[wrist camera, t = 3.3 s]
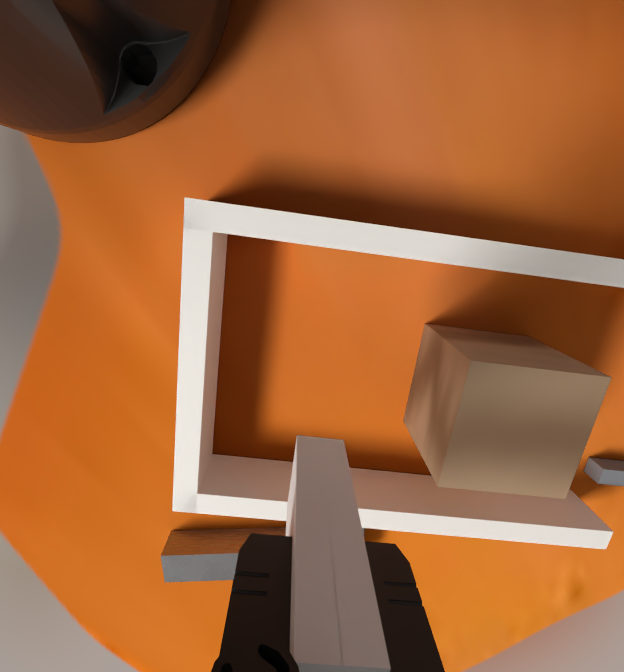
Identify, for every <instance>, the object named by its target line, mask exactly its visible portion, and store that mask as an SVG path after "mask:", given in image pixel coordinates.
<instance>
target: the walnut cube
mask: <svg viewBox="0 0 624 672" xmlns="http://www.w3.org/2000/svg"><path fill="white" fill-rule="evenodd" d="M611 378H612V377H610V376H608V375H606V374H604V373H602V372H600V371H598V370H596V369H594V368H592V367H590V366H588V365H586V364H584V363H582V362H580V361H578V360H576V359H574V358H572V357H570V356H568V355H566V354H564V353H562V352H560V351H558V350H556V349H554V348H552V347H550V346H548V345H546V344H543V343H541V342H539V341H537V340H535V339H533V338H531V337H529V336H522V335H514V334H506V333H498V332H490V331H482V330H474V329H466V328H458V327H450V326H442V325H434V324H426V323H425V326H424V330H423V335H422V339H421V344H420V348H419V352H418V357H417V361H416V366H415V370H414V375H413V379H412V384H411V388H410V393H409V397H408V402H407V406H406V411H405V415H404V420H403V421H404V423H405V425H406V427H407V429H408V431H409V433H410V435H411V437H412V439H413V440H414V442H415V444H416V446H417V448H418V450H419V452H420V454H421V456H422V458H423V460H424V462H425V464H426V466H427V467H428V469H429V471H430V473H431V475H432V477H433V479H434V481H435V483H436V485H437V487H445V488H455V489H466V490H476V491H487V492H497V493H507V494H518V495H528V496H538V497H549V498H559V499H566V497H567V494H568V491H569V489H570V486H571V483H572V481H573V478H574V475H575V473H576V470H577V467H578V465H579V462H580V460H581V457H582V454H583V452H584V449H585V446H586V444H587V441H588V438H589V436H590V433H591V431H592V428H593V425H594V423H595V420H596V417H597V415H598V412H599V409H600V407H601V404H602V402H603V399H604V396H605V394H606V391H607V388H608V386H609V383H610V380H611Z"/></svg>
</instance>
